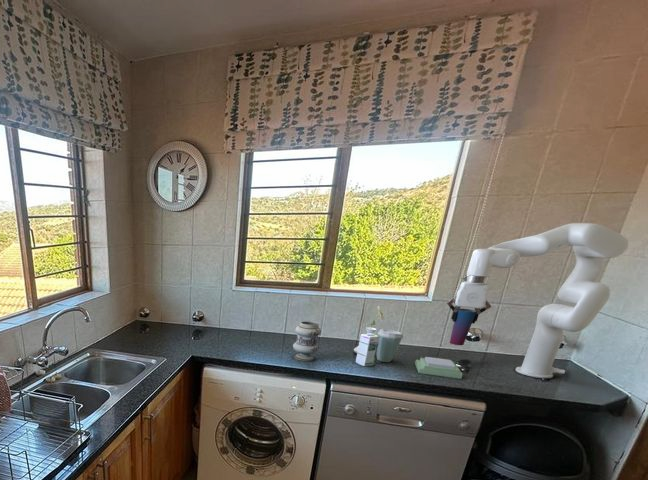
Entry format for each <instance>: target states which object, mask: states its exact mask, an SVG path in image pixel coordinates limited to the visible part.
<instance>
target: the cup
mask: <svg viewBox="0 0 648 480" xmlns="http://www.w3.org/2000/svg"><path fill="white" fill-rule="evenodd" d="M476 312H477V311H475V309H471V308H460V309H459V310H458V311H457V313H458V315H457V319H456V321H455V322H453V326H452V330H451V334H450V339H449V344H451V345H454V346H464V344H465V342H466V339H467V337H468V334H469V332H470V329H471V327H472V325H473V323H472V322H473V319H474V317H475V314H476Z"/></svg>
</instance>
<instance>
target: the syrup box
mask: <svg viewBox="0 0 648 480" xmlns="http://www.w3.org/2000/svg"><path fill="white" fill-rule="evenodd" d="M379 338H380V336H378V334H375V333H373V334H371V333H370V334H367V333H361V334H360V336H359V342H358V346H359V347H358V353H356V358H355V364H358V365H360V366H362V367H368V366H370V367H371V366H374V365H375V361H376V358H377V355H376V352H377V348H378V343H379Z"/></svg>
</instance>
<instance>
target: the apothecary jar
mask: <svg viewBox="0 0 648 480" xmlns="http://www.w3.org/2000/svg"><path fill="white" fill-rule="evenodd" d="M319 326H320V325H319V322H316V321H313V320H302V321H300V322H299V325H297V326H296V327H295V329H294V330H295V333H296V334H297V335H296V340H295V342H294V343H293V344H292V348H293V350H294V352H297V353H296V354H294V355H293V358H294V359H296V360H297V361H301V362H313V361H315V359H316V357H315V356H314V355H312V354H316V353H317V352H319V349H320V346H319V344H318V338H319V336H320V335H321V334H322V329H321V328H320V327H319Z"/></svg>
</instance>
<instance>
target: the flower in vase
mask: <svg viewBox="0 0 648 480" xmlns="http://www.w3.org/2000/svg"><path fill="white" fill-rule="evenodd" d="M377 312H378V313H377V314H376V315H375V316H374V318H373V319H372V322H371V323H370V324H369V326H366V327H365V330H366V334H370V333H371V334H375V332H376V331H377V330H378V329H377V328H376V327H373V326H375V325H376V320H375V319H376V318H377V317H378V316H380V319H381V320H382V321H385V317H384V315H383V314H384V313H383V312H382V309H381V306H380V305H377ZM358 347H359V345H357V346H356V347H354V348H353V352H354V353H356V354H357V353H358ZM376 356H377V352H376Z"/></svg>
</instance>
